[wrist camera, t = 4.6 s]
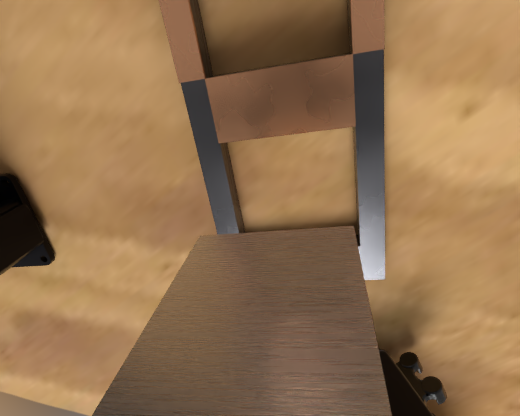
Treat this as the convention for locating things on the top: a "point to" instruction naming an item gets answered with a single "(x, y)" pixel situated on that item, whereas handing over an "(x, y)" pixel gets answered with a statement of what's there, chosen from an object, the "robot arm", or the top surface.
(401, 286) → the top surface
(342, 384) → the knobbed block
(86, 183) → the top surface
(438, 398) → the valve
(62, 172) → the top surface
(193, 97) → the rail
